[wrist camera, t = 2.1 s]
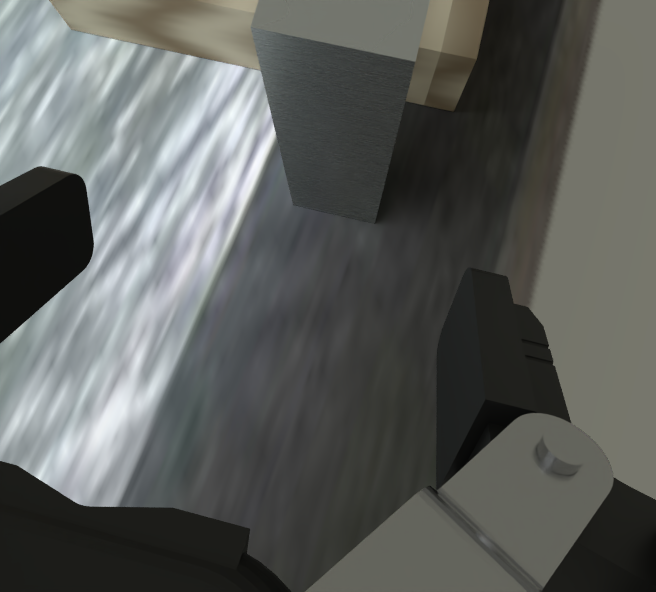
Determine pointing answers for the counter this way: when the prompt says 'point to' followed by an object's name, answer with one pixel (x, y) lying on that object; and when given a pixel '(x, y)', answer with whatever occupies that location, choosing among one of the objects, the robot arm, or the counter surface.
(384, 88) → the square post
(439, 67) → the post base
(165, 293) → the counter surface
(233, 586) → the robot arm
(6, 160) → the counter surface
